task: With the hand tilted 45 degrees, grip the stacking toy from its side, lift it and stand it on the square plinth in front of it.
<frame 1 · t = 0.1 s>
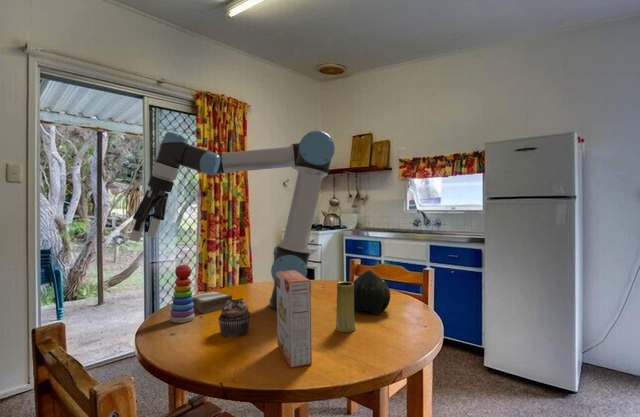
hand: (142, 238, 119), 28 cm above the table, tool tilted 20°, fingers open, 13 cm apart
cupcake: (234, 333, 108), on the table
cracker box: (293, 356, 92), on the table
vase: (345, 329, 111), on the table
stacking toy: (182, 320, 121), on the table
squash: (368, 311, 130), on the table
plinth: (209, 307, 136), on the table
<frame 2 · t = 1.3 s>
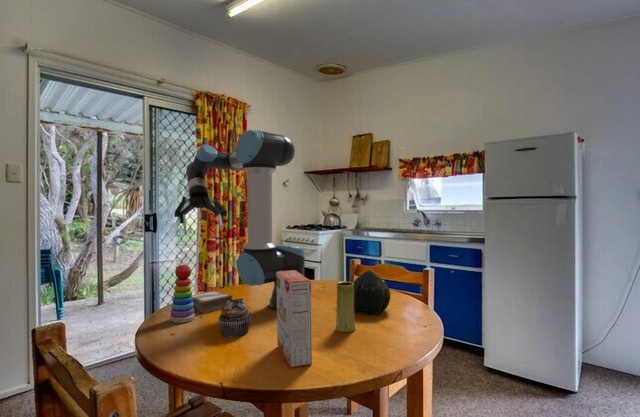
hand: (203, 228, 139), 30 cm above the table, tool tilted 45°, fingers open, 13 cm apart
nothing on the table moved.
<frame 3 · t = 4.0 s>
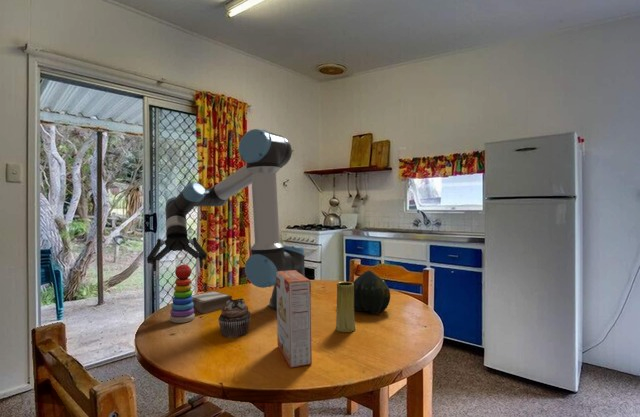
hand: (178, 276, 125), 14 cm above the table, tool tilted 45°, fingers open, 13 cm apart
nothing on the table moved.
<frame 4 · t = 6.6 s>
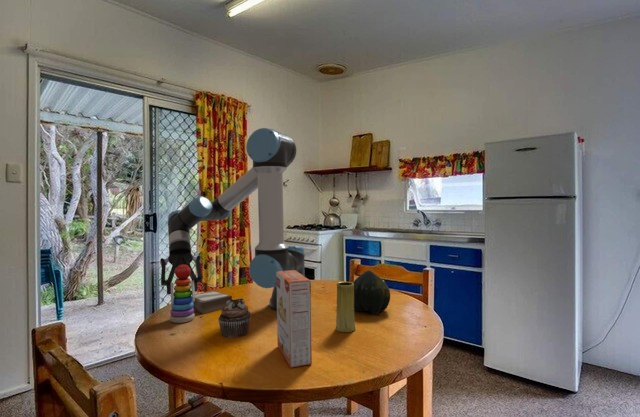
hand: (183, 300, 118), 7 cm above the table, tool tilted 45°, fingers closed on stacking toy, 6 cm apart
stacking toy: (182, 320, 121), on the table, touching gripper
everything else where it was.
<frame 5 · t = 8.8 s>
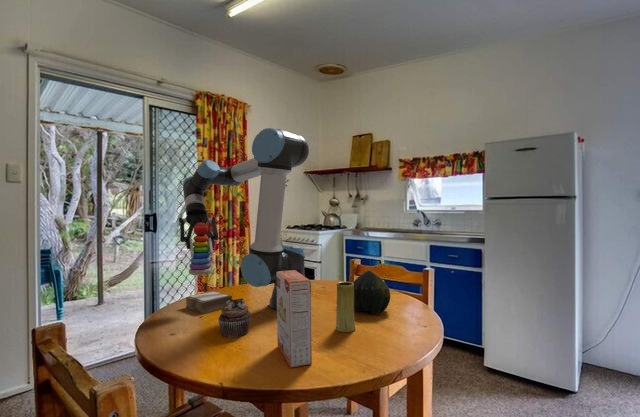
hand: (202, 254, 128), 21 cm above the table, tool tilted 45°, fingers closed on stacking toy, 6 cm apart
stacking toy: (200, 274, 131), point 13 cm above the table, touching gripper
everything else where it was.
when the fingers open (13 cm above the table, at t = 11.1 s): stacking toy drops 1 cm, resting on plinth.
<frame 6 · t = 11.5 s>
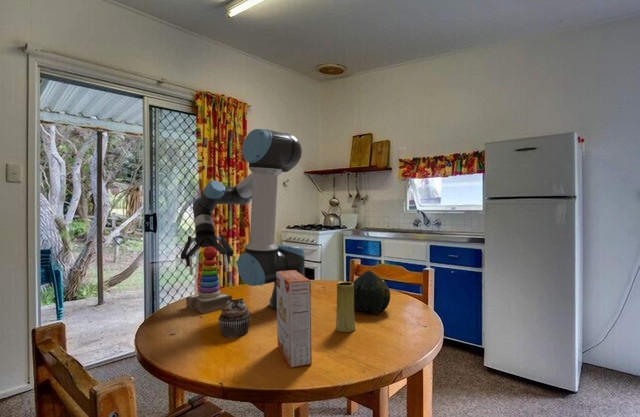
hand: (209, 271, 133), 14 cm above the table, tool tilted 45°, fingers open, 12 cm apart
stacking toy: (209, 296, 135), point 4 cm above the table, touching plinth
everything else where it was.
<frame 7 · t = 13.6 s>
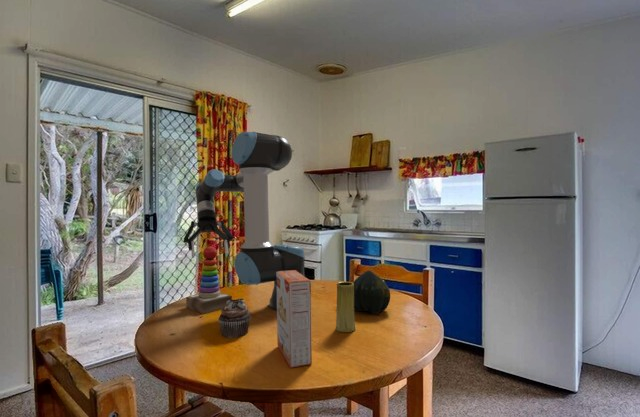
hand: (210, 255, 148), 18 cm above the table, tool tilted 35°, fingers open, 13 cm apart
nothing on the table moved.
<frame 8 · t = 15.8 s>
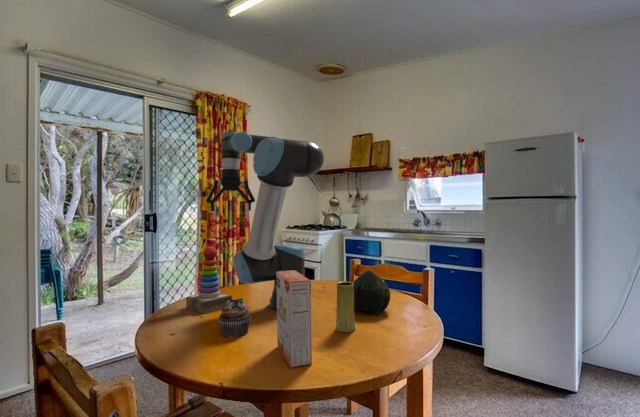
hand: (231, 218, 152), 33 cm above the table, tool pointing down, fingers open, 13 cm apart
nothing on the table moved.
at the end: stacking toy inside the target area on the plinth (0.3 cm from its centre), point 4.1 cm above the plinth's base; stacking toy touching plinth; stacking toy tilted 0° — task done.
